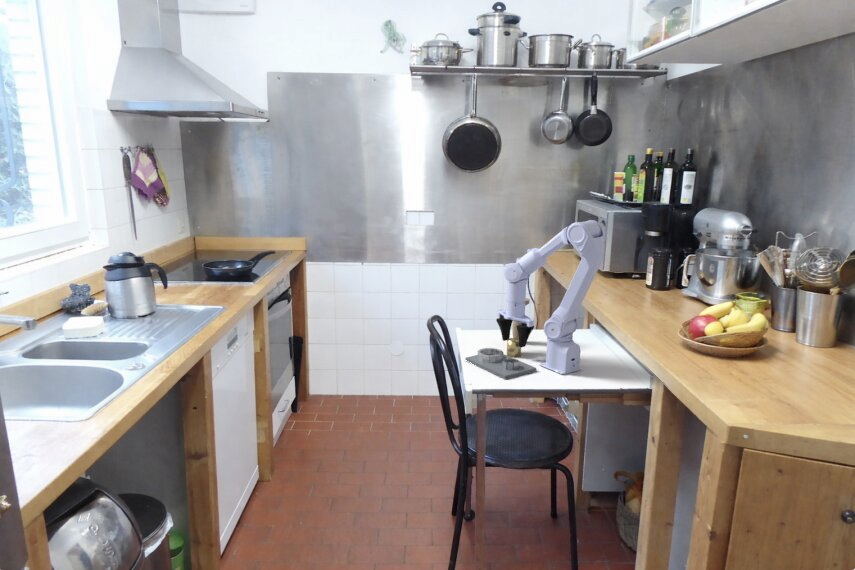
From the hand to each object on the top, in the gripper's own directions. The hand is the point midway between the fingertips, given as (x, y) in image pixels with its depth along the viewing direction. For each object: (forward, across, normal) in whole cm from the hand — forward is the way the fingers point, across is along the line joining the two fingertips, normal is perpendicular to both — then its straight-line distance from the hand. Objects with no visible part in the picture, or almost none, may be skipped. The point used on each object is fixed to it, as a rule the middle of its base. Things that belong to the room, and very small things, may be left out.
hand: (513, 343), depth 177 cm
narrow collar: (+4, +10, -10) cm, 14 cm away
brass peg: (+4, 0, 0) cm, 4 cm away
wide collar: (+4, +1, -10) cm, 11 cm away
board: (+4, +5, -10) cm, 12 cm away
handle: (+4, -9, +10) cm, 14 cm away
